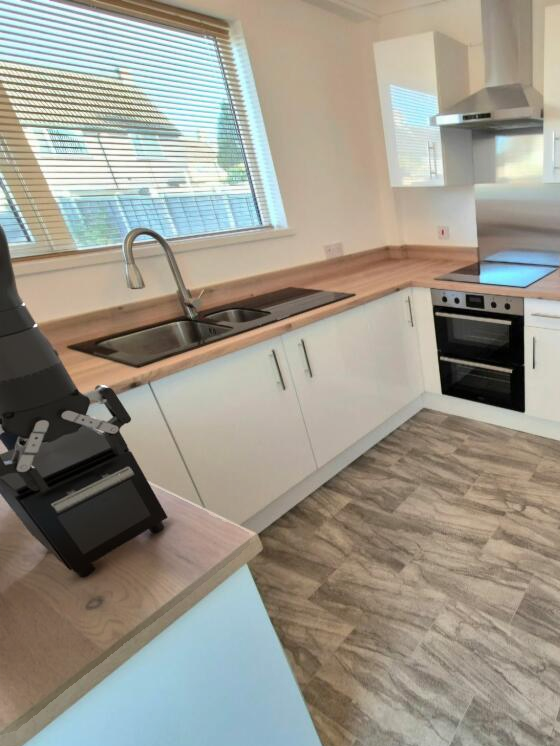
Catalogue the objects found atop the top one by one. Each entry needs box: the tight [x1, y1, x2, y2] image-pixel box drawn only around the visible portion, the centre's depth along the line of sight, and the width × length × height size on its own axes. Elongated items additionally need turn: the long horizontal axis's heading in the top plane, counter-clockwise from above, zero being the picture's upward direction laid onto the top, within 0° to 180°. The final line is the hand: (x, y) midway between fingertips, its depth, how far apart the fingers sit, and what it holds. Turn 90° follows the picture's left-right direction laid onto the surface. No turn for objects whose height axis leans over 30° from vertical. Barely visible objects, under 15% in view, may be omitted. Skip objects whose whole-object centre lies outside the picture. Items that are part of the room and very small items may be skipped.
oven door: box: [20, 449, 168, 574], centre depth 65 cm, size 5×13×14 cm, turn 151°
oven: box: [0, 425, 165, 579], centre depth 70 cm, size 16×13×18 cm
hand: (84, 470), depth 60 cm, fingers open, 8 cm apart
